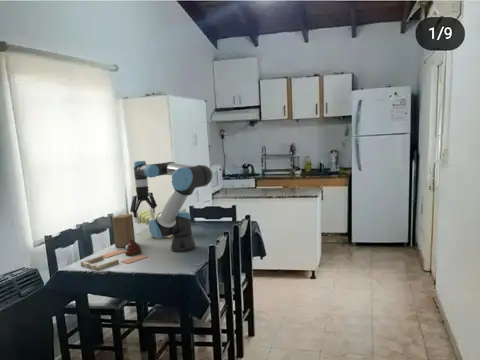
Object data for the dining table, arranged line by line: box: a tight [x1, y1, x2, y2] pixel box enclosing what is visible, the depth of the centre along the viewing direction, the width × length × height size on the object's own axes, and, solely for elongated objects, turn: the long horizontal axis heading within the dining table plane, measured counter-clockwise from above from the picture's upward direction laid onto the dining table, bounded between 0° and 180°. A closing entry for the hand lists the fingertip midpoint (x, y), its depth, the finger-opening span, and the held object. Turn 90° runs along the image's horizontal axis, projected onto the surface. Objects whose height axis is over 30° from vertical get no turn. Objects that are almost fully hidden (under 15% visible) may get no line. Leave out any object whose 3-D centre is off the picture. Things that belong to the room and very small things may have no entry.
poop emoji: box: [124, 239, 142, 257], centre depth 252 cm, size 10×8×9 cm
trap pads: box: [100, 249, 149, 265], centre depth 247 cm, size 29×14×1 cm, turn 50°
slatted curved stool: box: [137, 208, 187, 238], centre depth 291 cm, size 30×16×18 cm, turn 76°
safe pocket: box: [80, 255, 120, 271], centre depth 235 cm, size 17×14×2 cm
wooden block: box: [112, 213, 136, 248], centre depth 272 cm, size 10×10×20 cm
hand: (145, 220), depth 259 cm, fingers open, 11 cm apart
